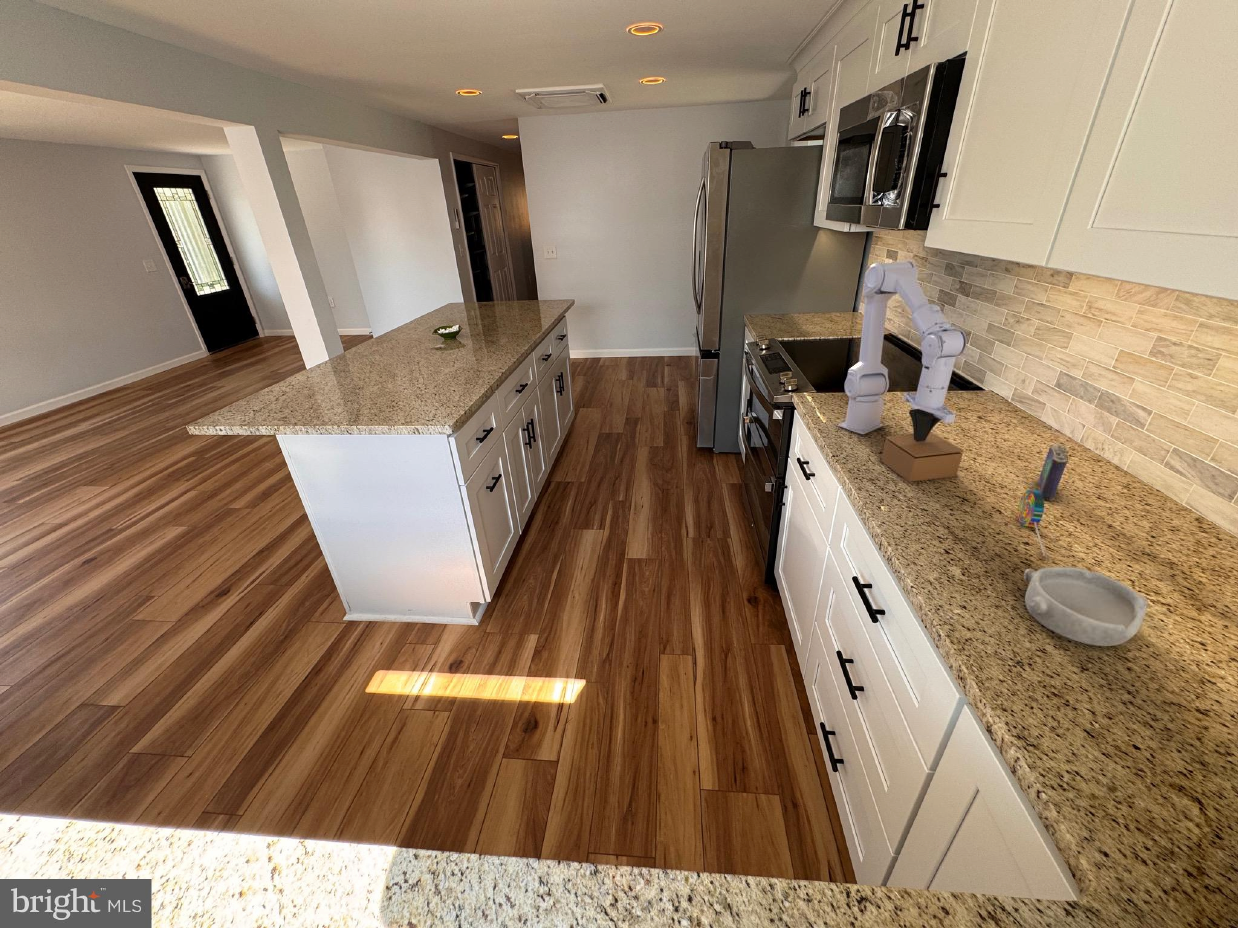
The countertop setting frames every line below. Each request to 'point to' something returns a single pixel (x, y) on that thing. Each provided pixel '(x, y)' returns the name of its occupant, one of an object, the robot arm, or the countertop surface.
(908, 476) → the carton
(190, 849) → the countertop surface
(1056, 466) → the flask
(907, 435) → the flap
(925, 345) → the robot arm
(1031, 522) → the lollipop
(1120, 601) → the dish
